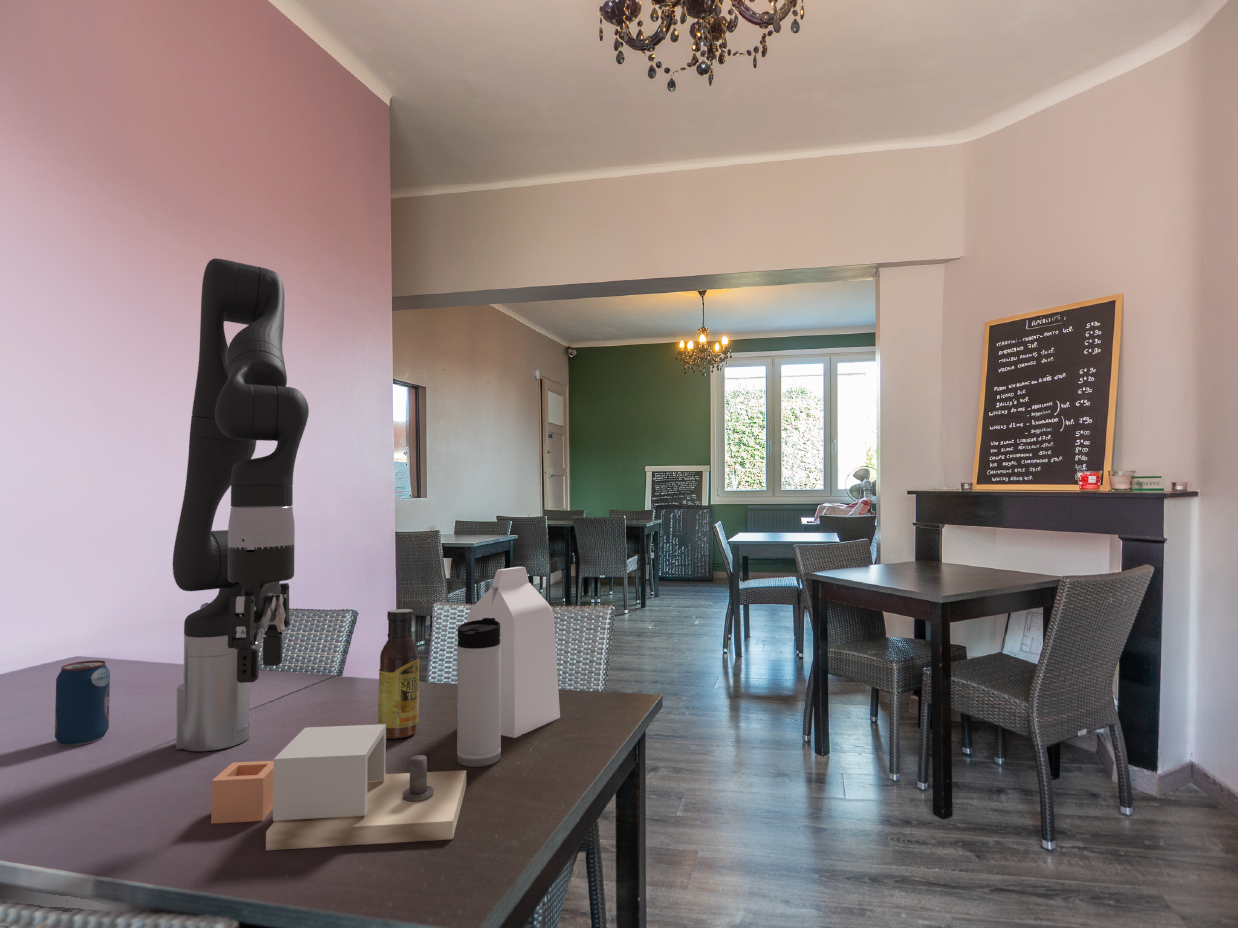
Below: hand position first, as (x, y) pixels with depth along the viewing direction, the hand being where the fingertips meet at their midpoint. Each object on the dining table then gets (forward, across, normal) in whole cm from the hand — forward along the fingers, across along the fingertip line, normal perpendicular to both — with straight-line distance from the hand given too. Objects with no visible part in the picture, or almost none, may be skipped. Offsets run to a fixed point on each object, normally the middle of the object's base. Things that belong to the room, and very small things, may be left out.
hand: (260, 673), depth 90 cm
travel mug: (+17, -13, +26) cm, 34 cm away
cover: (+14, +4, +10) cm, 18 cm away
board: (+17, +4, +15) cm, 23 cm away
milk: (+17, -30, +30) cm, 46 cm away
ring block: (+17, +1, -1) cm, 17 cm away
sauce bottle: (+17, -26, +12) cm, 33 cm away
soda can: (+16, -31, -38) cm, 52 cm away
